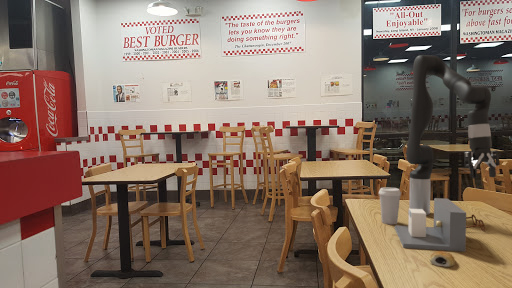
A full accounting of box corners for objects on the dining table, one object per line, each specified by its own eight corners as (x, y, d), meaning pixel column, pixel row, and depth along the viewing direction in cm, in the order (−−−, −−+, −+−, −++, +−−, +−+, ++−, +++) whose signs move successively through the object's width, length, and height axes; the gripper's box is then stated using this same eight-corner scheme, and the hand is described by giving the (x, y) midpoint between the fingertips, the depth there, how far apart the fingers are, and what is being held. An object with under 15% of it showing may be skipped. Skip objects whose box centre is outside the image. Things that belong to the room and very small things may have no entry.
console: (394, 228, 156) (395, 196, 155) (446, 231, 151) (447, 198, 151) (403, 247, 133) (403, 210, 132) (465, 251, 128) (466, 212, 127)
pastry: (434, 256, 125) (434, 244, 125) (457, 260, 121) (457, 248, 121) (429, 265, 117) (429, 253, 117) (453, 269, 114) (453, 257, 113)
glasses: (485, 233, 150) (486, 221, 149) (450, 232, 152) (450, 220, 152) (473, 224, 163) (474, 213, 162) (441, 223, 165) (441, 212, 165)
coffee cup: (400, 220, 169) (400, 187, 168) (401, 226, 160) (401, 191, 159) (378, 218, 172) (378, 186, 171) (378, 224, 163) (378, 190, 162)
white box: (407, 231, 147) (408, 208, 146) (422, 231, 146) (422, 209, 145) (410, 236, 140) (411, 212, 140) (425, 237, 139) (426, 213, 138)
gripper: (486, 136, 152) (490, 176, 151) (457, 137, 149) (460, 178, 147) (502, 134, 145) (506, 176, 144) (472, 136, 141) (475, 179, 140)
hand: (483, 177), depth 146 cm, fingers open, 8 cm apart
